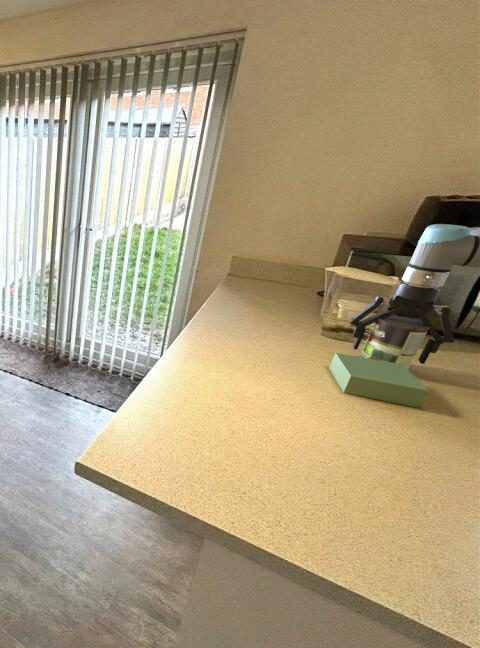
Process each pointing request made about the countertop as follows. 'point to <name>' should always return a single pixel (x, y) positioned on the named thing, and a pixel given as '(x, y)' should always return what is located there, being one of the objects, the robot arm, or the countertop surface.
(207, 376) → the countertop surface
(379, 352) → the coffee can
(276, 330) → the countertop surface
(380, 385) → the riser block
